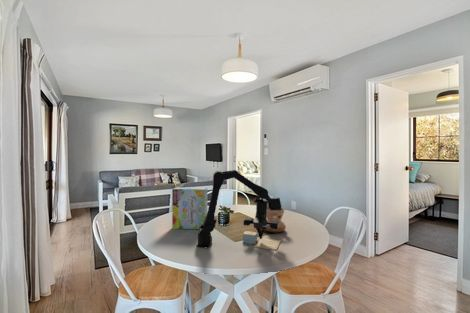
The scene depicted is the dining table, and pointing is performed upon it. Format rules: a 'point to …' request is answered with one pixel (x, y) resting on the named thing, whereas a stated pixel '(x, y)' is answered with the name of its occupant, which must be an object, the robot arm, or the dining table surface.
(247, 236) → the stub
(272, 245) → the pad
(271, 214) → the ceramic jug
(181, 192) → the snack box
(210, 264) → the dining table surface
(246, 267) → the dining table surface
